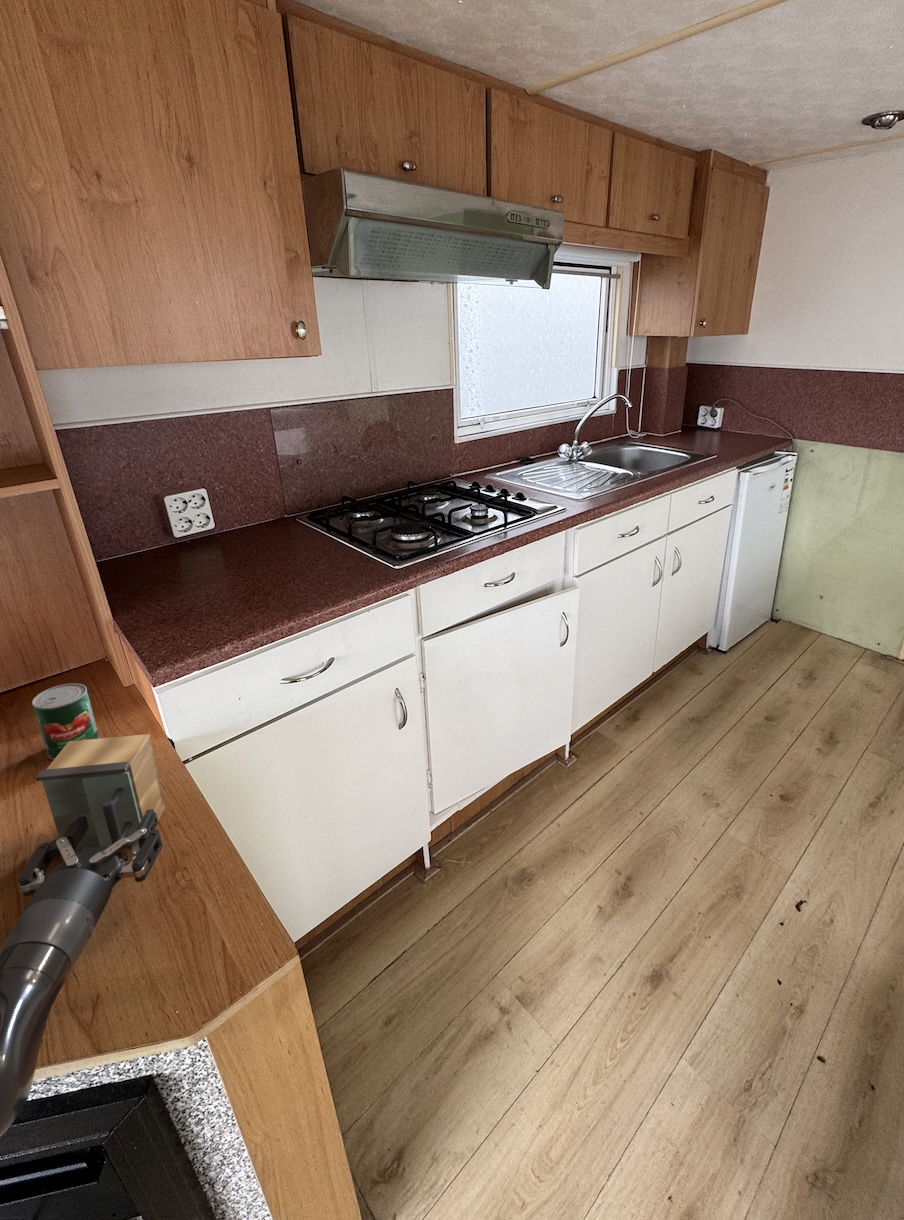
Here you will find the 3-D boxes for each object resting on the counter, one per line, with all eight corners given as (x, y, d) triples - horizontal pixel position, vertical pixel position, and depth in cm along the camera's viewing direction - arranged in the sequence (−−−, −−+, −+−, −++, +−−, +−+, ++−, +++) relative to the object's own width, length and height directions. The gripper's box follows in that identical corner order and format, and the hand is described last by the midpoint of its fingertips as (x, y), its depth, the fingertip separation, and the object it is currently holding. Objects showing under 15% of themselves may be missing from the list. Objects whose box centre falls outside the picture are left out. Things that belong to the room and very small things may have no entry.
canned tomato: (83, 728, 111) (70, 678, 107) (109, 740, 108) (96, 689, 104) (37, 752, 104) (21, 700, 100) (63, 766, 101) (48, 712, 97)
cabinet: (60, 860, 83) (35, 777, 78) (89, 815, 91) (67, 737, 86) (144, 850, 85) (124, 768, 80) (165, 806, 93) (148, 730, 88)
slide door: (87, 875, 80) (65, 800, 75) (102, 848, 84) (82, 775, 80) (133, 869, 81) (114, 795, 76) (146, 843, 85) (128, 771, 81)
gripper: (118, 892, 65) (169, 789, 80) (-26, 911, 63) (54, 801, 78) (131, 939, 68) (178, 831, 83) (-7, 960, 65) (67, 844, 80)
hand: (118, 817), depth 80 cm, fingers open, 8 cm apart
